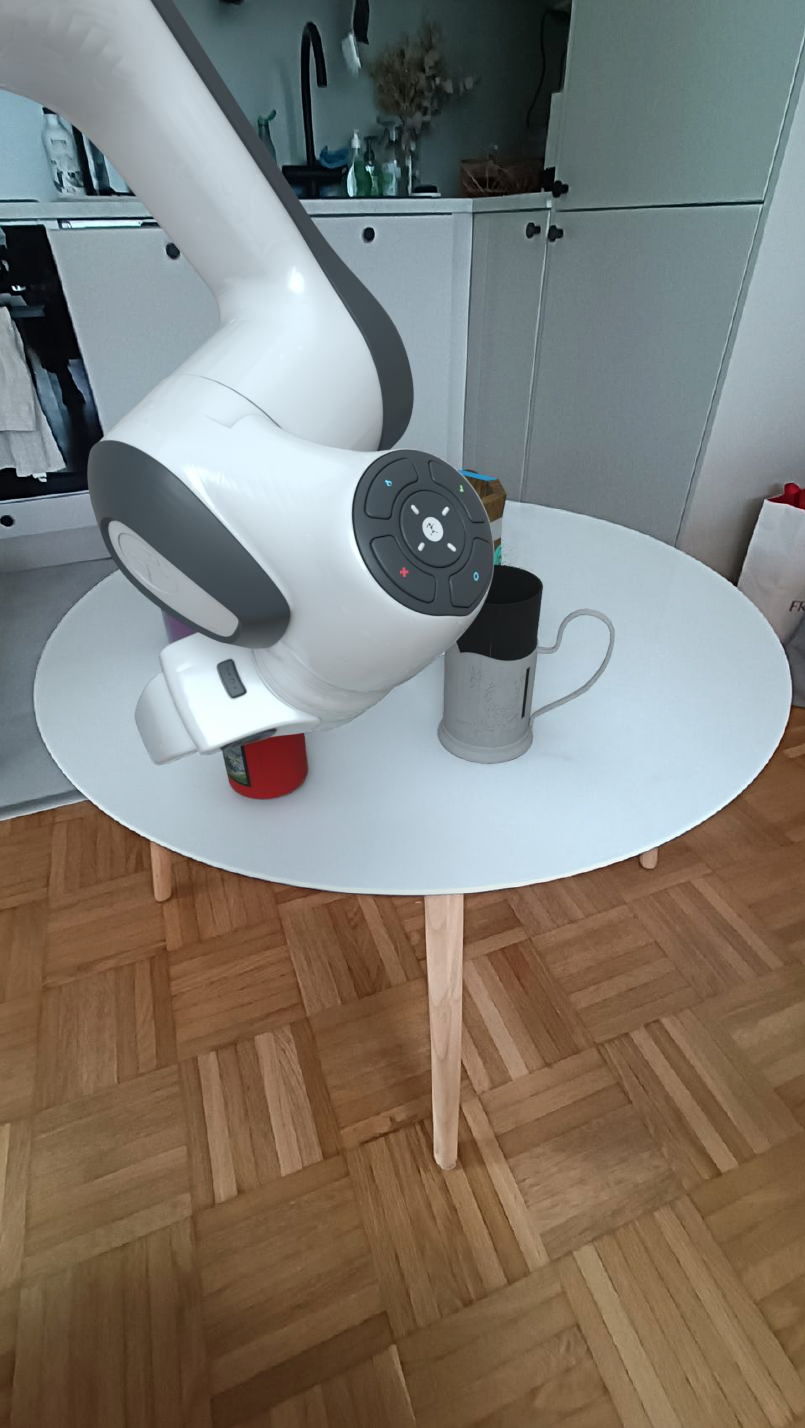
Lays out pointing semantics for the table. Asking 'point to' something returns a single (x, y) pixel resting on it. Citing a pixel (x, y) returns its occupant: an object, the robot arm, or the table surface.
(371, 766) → the table surface
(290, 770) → the beverage can
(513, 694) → the glass holder
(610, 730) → the table surface
